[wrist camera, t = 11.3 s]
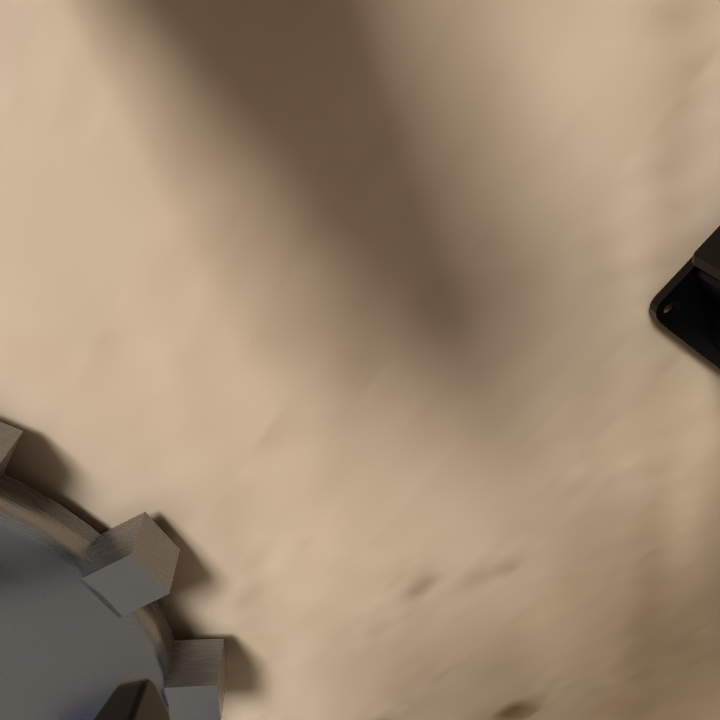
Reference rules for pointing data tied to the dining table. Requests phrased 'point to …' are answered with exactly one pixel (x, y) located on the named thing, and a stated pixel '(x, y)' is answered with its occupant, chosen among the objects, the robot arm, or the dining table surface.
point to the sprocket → (90, 613)
